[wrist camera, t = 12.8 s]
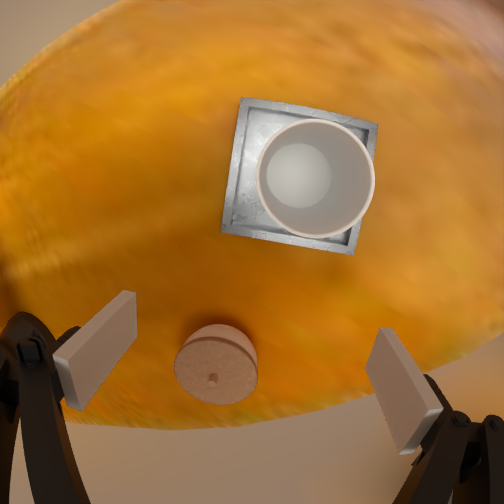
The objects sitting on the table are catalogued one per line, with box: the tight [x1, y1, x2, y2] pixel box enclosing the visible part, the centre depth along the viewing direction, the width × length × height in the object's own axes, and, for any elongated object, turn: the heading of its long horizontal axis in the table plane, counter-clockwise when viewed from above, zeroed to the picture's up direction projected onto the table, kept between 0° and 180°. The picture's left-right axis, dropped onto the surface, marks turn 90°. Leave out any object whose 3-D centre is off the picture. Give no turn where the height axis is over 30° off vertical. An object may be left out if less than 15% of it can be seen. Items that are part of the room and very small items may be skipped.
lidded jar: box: [174, 324, 258, 405], centre depth 38 cm, size 11×11×9 cm
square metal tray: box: [221, 97, 378, 256], centre depth 34 cm, size 16×16×3 cm
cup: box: [256, 119, 375, 238], centre depth 27 cm, size 8×8×16 cm
